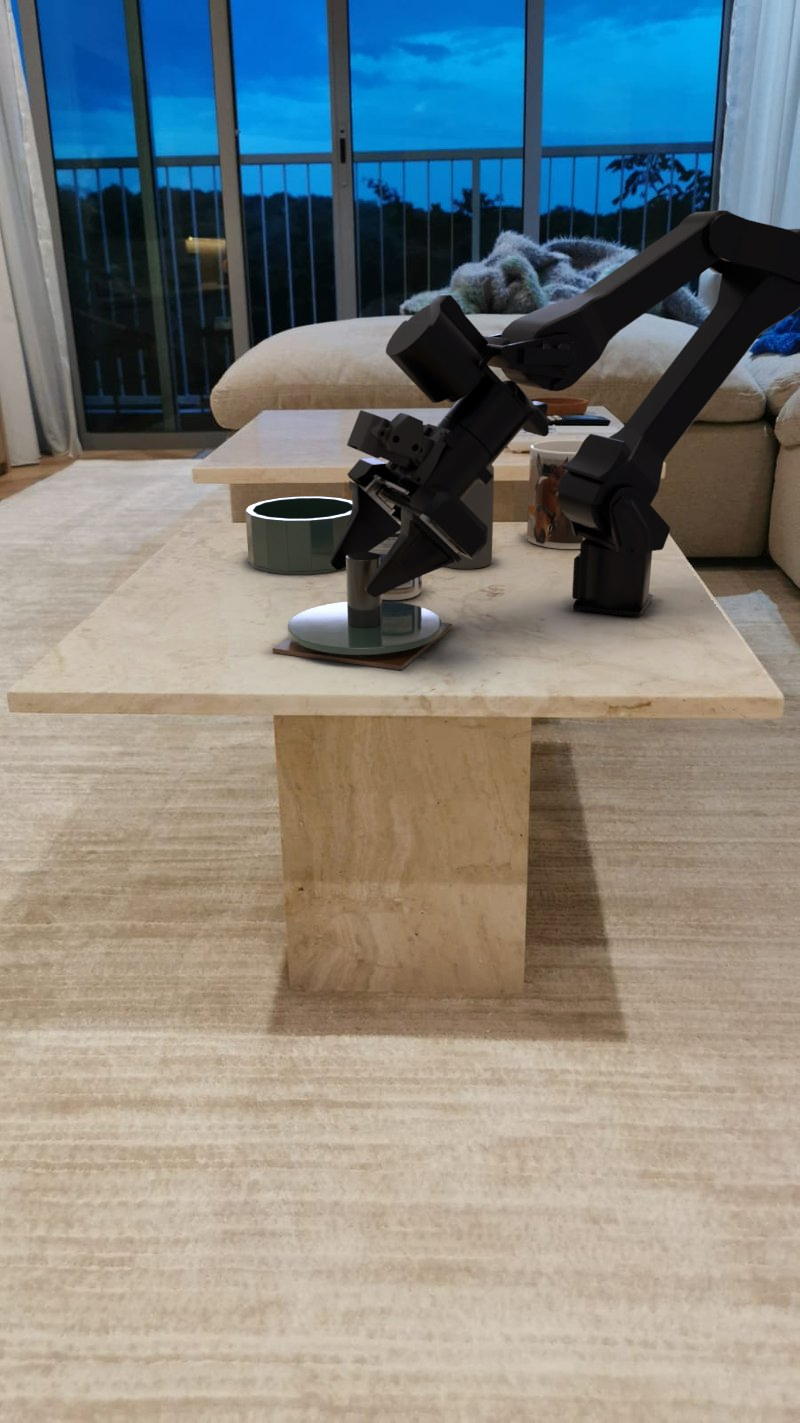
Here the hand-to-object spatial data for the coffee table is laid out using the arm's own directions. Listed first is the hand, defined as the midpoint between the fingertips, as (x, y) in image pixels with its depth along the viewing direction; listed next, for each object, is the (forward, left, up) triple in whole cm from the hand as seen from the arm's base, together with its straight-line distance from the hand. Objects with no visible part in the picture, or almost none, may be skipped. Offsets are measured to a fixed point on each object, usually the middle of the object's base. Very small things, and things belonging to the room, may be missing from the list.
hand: (350, 580), depth 92 cm
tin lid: (-1, -1, -5) cm, 5 cm away
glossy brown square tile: (-1, -1, -6) cm, 6 cm away
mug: (-9, -43, -6) cm, 44 cm away
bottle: (0, -29, -6) cm, 30 cm away
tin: (+17, -24, -6) cm, 30 cm away
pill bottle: (+3, -15, -6) cm, 16 cm away
